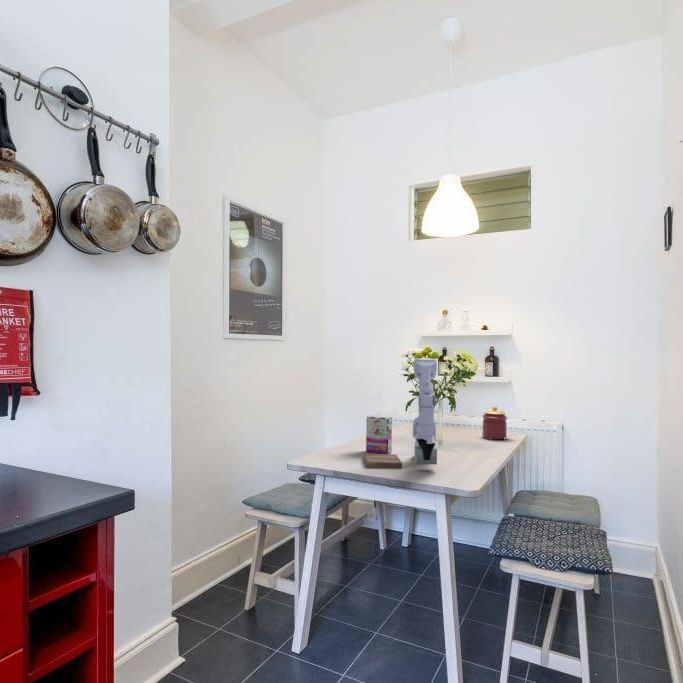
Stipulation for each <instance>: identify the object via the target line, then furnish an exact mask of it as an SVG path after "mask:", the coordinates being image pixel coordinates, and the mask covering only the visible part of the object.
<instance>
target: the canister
mask: <svg viewBox="0 0 683 683" xmlns="http://www.w3.org/2000/svg"><path fill="white" fill-rule="evenodd" d="M482 419H483V420H482V434H481V435H482V438H483V437H485V438H484V439H486V438H491V439H504V438H506V439H507V437H508V436H507V435H508V434H507V426H508V424H507V419H508V417H507V416H506V412H504V411H503V410H501V409H498V407H497V406H492V407H491V409H486V410H485V411H484V414H483V415H482ZM491 439H490V440H491Z"/></svg>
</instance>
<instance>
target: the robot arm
mask: <svg viewBox="0 0 683 683" xmlns="http://www.w3.org/2000/svg"><path fill="white" fill-rule="evenodd" d="M437 362H438V361H437V359H436V358H417V357H415V358H414V360H413V375H414V378H415V379H417V380H418V383H419V385H418V388H419V390H418V391H419V394H418V402H417V403H418V405H417V406H418V413H419V414H418V416H417V417H416V418H414V419H413V420H412V421H413V422H412V437H413V438H414V439H415V441H414V447H415V446H422V449H423V456H424V460H430V458H431V453H432V450H433V448H434V447H435V446H436V442H433V441H434V440H435V438H436V435H437V433H436V432H437V426H436V421H435V419H434V417H435V416H434V415H435V414H434V413H435V412H434V411H435V407H436V396H435V392H434V384H433V382H431V381H432V380H433V379H435V378H436V375H437V368H438V367H437V366H438V365H437ZM412 458H413V459H414V454H413V455H412Z"/></svg>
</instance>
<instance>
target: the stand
mask: <svg viewBox="0 0 683 683" xmlns="http://www.w3.org/2000/svg"><path fill="white" fill-rule="evenodd" d="M363 460H364V462H365V464H366V467H367V468H369V469H370V468H371V469H374V468H375V469H376V468H377V469H402V468H403V462H402V461H401V459H400V458H399V457H398V455H397V454H391V453H389V454H381V453H364V454H363Z"/></svg>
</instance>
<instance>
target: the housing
mask: <svg viewBox="0 0 683 683" xmlns="http://www.w3.org/2000/svg"><path fill="white" fill-rule="evenodd" d="M413 455H414V458H413V460H414V461H413V462H414V463H415V464H416V465H438V449H437V448H436V447H435V446H434V448H433V450H432V453H431V458H430V460H424V456H423V449H422V446H415V445H414V453H413Z"/></svg>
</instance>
